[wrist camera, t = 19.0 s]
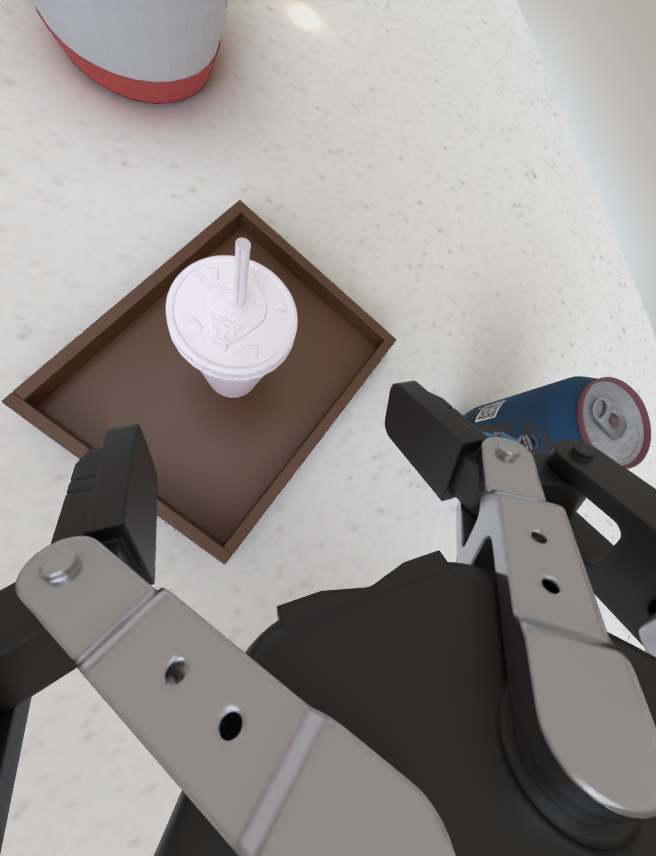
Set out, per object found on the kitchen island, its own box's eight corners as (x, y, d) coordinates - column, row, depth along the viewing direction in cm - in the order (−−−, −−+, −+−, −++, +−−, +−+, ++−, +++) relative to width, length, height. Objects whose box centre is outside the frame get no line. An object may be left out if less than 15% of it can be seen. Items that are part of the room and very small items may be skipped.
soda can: (521, 442, 33) (671, 419, 22) (487, 497, 31) (635, 503, 20) (472, 394, 33) (602, 345, 21) (435, 447, 31) (556, 424, 19)
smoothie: (286, 355, 27) (341, 232, 14) (256, 428, 26) (286, 367, 12) (209, 320, 26) (188, 148, 13) (172, 395, 24) (104, 285, 11)
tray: (224, 557, 24) (224, 565, 22) (23, 409, 22) (0, 401, 20) (384, 350, 31) (396, 339, 29) (238, 221, 29) (239, 199, 27)
